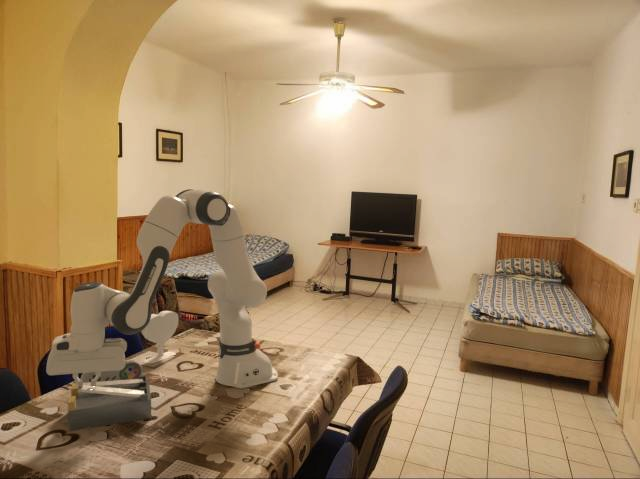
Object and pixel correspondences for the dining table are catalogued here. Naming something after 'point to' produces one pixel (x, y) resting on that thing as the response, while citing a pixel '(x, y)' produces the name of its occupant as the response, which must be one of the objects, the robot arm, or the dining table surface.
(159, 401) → the dining table surface
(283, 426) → the dining table surface
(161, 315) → the heart sculpture
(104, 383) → the strap far
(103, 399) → the grey boxy piece
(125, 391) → the strap near
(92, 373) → the game controller
